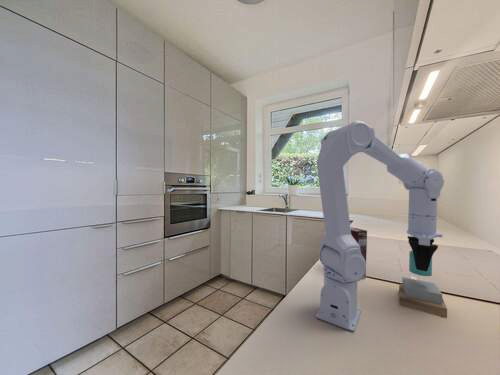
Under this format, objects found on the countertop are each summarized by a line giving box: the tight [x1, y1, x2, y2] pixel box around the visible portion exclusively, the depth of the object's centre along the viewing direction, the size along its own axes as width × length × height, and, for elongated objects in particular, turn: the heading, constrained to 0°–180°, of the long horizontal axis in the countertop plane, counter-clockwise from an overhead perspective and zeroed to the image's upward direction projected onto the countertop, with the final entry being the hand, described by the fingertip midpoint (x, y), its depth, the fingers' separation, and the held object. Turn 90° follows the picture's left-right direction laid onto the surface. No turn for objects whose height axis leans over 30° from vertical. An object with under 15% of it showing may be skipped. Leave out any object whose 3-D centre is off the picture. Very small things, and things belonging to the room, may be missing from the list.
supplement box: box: [350, 226, 368, 280], centre depth 72 cm, size 9×5×16 cm, turn 25°
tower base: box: [398, 283, 448, 318], centre depth 55 cm, size 9×9×2 cm
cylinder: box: [408, 250, 433, 277], centre depth 55 cm, size 5×5×5 cm
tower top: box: [401, 276, 443, 305], centre depth 55 cm, size 7×7×2 cm
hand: (420, 267), depth 55 cm, fingers closed on cylinder, 5 cm apart
